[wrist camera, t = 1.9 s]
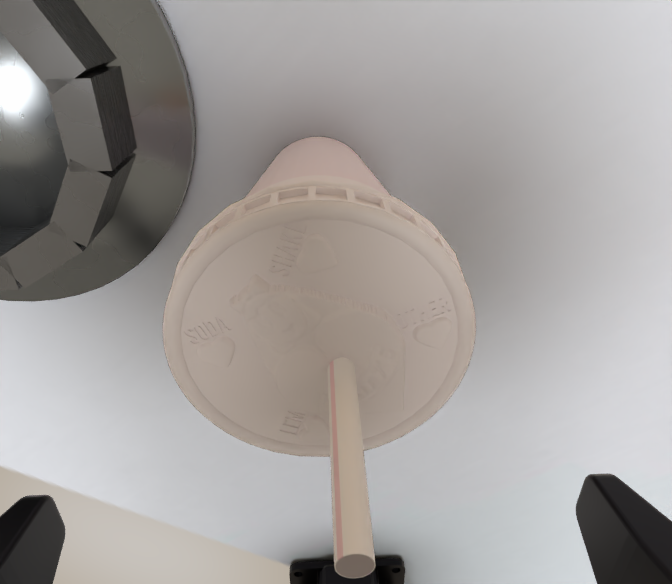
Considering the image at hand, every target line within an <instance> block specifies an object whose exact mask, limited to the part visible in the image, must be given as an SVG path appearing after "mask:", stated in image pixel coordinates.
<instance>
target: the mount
mask: <svg viewBox="0 0 672 584" xmlns="http://www.w3.org/2000/svg"><path fill="white" fill-rule="evenodd" d="M194 149H195V120H194V108H193V100H192V95H191V90H190V86H189V81H188V76H187V72H186V69H185V66H184V63H183V60H182V57H181V54H180V51H179V48H178V45H177V42H176V40H175V38H174V36H173V33H172V31H171V29H170V27H169V25H168V23H167V20H166V18H165V16H164V14H163V12H162V10H161V8H160V7H159V5H158V3H157V2H156V0H0V300H7V301H42V300H54V299H60V298H65V297H70V296H75V295H80V294H82V293H85V292H88V291H91V290H94V289H97V288H100V287H102V286H104V285H106V284H108V283H110V282H112V281H114V280H116V279H118V278H120V277H121V276H123V275H124V274H125V273H127V272H128V271H130V270H131V269H132V268H134V267H135V266H137V265H138V264H139V263H140V262H141V261H142V260H143V259H144V258H145V257H146V256H147V255H148V254H149V253H150V252H151V251H152V250H153V249H154V248H155V247H156V245H157V244H158V243H159V241H160V240H161V239H162V237H163V236H164V235H165V233H166V232H167V231H168V229H169V227H170V226H171V224H172V222H173V220H174V218H175V216H176V214H177V213H178V211H179V209H180V207H181V205H182V202H183V199H184V196H185V194H186V191H187V188H188V185H189V182H190V177H191V171H192V166H193V161H194Z"/></svg>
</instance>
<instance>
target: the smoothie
mask: <svg viewBox="0 0 672 584" xmlns="http://www.w3.org/2000/svg"><path fill="white" fill-rule="evenodd" d="M475 333H476V322H475V311H474V306H473V301H472V298H471V294H470V291H469V288H468V286H467V284H466V281H465V279H464V276H463V273H462V270H461V268H460V265H459V262H458V259H457V257H456V254H455V252H454V251H453V249H452V248H451V247H450V245H449V244H448V243H447V242H446V240H445V239H444V238H443V236H442V235H441V234H440V233H439V231H438V230H437V229H436V227H435V226H434V225H433V224H432V222H430V221H429V220H427V219H426V218H425V217H423V216H422V215H420V214H419V213H418V212H416V211H415V210H413V209H412V208H411V207H409V206H408V205H406V204H405V203H404V202H402V201H401V200H399V199H397V198H395V197H392V196H391V195H390V194H389V193H388V192H387V191H386V189H385V188H384V187H383V186H382V184H381V183H380V182H379V181H378V179H377V178H376V177H375V176H374V175H373V173H372V172H371V171H370V170H369V168H368V167H367V166H366V165H365V163H364V162H363V161H362V160H361V159H360V157H359V156H358V155H357V154H356V153H355V152H354V151H353V150H352V149H351V148H350V147H348V146H347V145H345V144H344V143H342V142H340V141H338V140H335V139H332V138H327V137H308V138H304V139H300V140H298V141H295V142H293V143H291V144H290V145H288V146H287V147H285V148H284V149H283V150H282V151H281V152H280V153H279V154H278V155H277V156H276V158H275V159H274V160H273V162H272V163H271V164H270V166H269V167H268V168H267V169H266V171H265V172H264V173H263V175H262V176H261V177H260V179H259V180H258V181H257V183H256V184H255V185H254V186H253V188H252V189H251V190H250V192H249V193H248V194H247V196H246V197H245V198H244V199H242V200H240V201H238V202H235V203H233V204H231V205H229V206H228V207H227V208H225V209H224V210H223V211H222V212H221V213H220V214H218V215H217V216H216V217H215V218H214V219H212V220H211V221H210V222H209V223H208V224H207V225H205V226H204V227H203V228H202V229H201V230H199V231H198V232H197V234H196V236H195V237H194V239H193V240H192V242H191V243H190V245H189V246H188V248H187V250H186V251H185V253H184V254H183V256H182V257H181V259H180V260H179V262H178V264H177V267H176V271H175V275H174V279H173V283H172V286H171V289H170V292H169V295H168V298H167V301H166V305H165V310H164V315H163V343H164V349H165V354H166V358H167V361H168V364H169V367H170V369H171V372H172V374H173V376H174V378H175V380H176V382H177V384H178V386H179V387H180V389H181V390H182V392H183V393H184V395H185V396H186V397H187V399H188V400H189V401H190V402H191V403H192V405H193V406H194V407H195V408H196V409H197V410H198V411H199V412H200V413H201V414H202V415H203V416H204V417H206V418H207V419H208V420H209V421H211V422H212V423H213V424H214V425H216V426H217V427H219V428H220V429H222V430H223V431H225V432H226V433H228V434H230V435H232V436H234V437H236V438H238V439H240V440H242V441H244V442H247V443H249V444H251V445H254V446H257V447H260V448H263V449H267V450H270V451H273V452H278V453H284V454H290V455H296V456H313V457H314V456H317V457H328V456H331V485H332V514H333V543H334V568H335V571H336V572H337V573H338V574H339V575H341V576H343V577H346V578H361V577H364V576H367V575H369V574H370V573H372V572H373V571H374V569H375V566H376V564H375V555H374V545H373V536H372V526H371V517H370V508H369V498H368V489H367V479H366V470H365V460H364V451H365V450H369V449H372V448H376V447H379V446H381V445H384V444H386V443H389V442H391V441H393V440H396V439H398V438H400V437H402V436H404V435H405V434H407V433H409V432H411V431H412V430H414V429H416V428H417V427H418V426H420V425H421V424H423V423H424V422H425V421H427V420H428V419H429V418H430V417H432V416H433V415H434V414H435V413H436V412H437V411H438V410H439V409H440V408H441V407H442V406H443V405H444V404H445V403H446V402H447V401H448V399H449V398H450V397H451V396H452V394H453V393H454V391H455V390H456V389H457V387H458V386H459V384H460V382H461V380H462V379H463V377H464V375H465V372H466V370H467V368H468V366H469V363H470V360H471V356H472V353H473V348H474V343H475Z"/></svg>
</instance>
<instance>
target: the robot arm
mask: <svg viewBox="0 0 672 584" xmlns="http://www.w3.org/2000/svg"><path fill="white" fill-rule="evenodd" d="M576 516H577V520H578V524H579V527H580V530H581V533H582V537H583V540H584V543H585V546H586V549H587V553H588V556H589V559H590V562H591V565H592V569H593V572H594V575H595V578H596V581H597V584H672V521H671V520H669V519H668V518H667V517H666V516H664V515H663V514H662V513H661V512H660V511H658V510H657V509H656V508H655V507H653V506H652V505H651V504H650V503H648V502H647V501H646V500H645V499H644V498H642V497H641V496H640V495H639V494H637V493H636V492H635V491H634V490H632V489H631V488H630V487H629V486H628V485H626V484H625V483H624V482H623V481H621V480H620V479H619V478H618V477H616V476H614V475H612V474H590V475H588V476H587V477H586V478H585V480H584V483H583V486H582V489H581V492H580V495H579V498H578V501H577V504H576ZM64 539H65V526H64V523H63V520H62V518H61V516H60V513H59V511H58V509H57V507H56V504H55V502H54V500H53V498H52V497H50V496H49V495H31V496H25V497H23V498H21V499H20V500H19V501H17V502H16V503H15V504H14V505H12V506H11V507H10V508H9V509H8V510H7V511H6V512H5V513H4V514H2V515H1V516H0V584H53V580H54V577H55V572H56V569H57V565H58V562H59V557H60V554H61V550H62V547H63V543H64ZM375 564H376V566H375V569H374V571H373V572H372V573H370V574H369V575H367V576H364V577H361V578H346V577H343V576H341V575H339V574H338V573H337V572H336V571H335V568H334V561H316V562H297V563H293V564H292V565H291V566H290V584H404V575H405V567H404V561H403V560H402V559H399V558H389V559H375Z"/></svg>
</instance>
